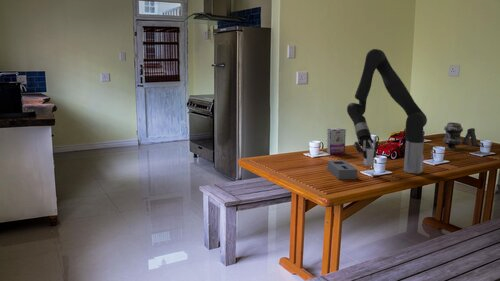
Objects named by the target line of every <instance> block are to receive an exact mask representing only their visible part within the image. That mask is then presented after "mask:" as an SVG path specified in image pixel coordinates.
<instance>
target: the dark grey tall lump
mask: <svg viewBox="0 0 500 281" xmlns="http://www.w3.org/2000/svg"><path fill="white" fill-rule="evenodd" d="M444 131H445V134H444V137H443V138H442V142H443V143H444V144H446V146H444V147H445V150H449V151H459V150H460V148H459V147H457V146H458V145H462V142H463V140H462V139H461V134H462V133H463V131H464V128H463V127H462V124H461V123H459V122H450V121H449V122H447V124H446V125H445V126H444Z"/></svg>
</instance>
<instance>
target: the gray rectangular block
mask: <svg viewBox="0 0 500 281" xmlns="http://www.w3.org/2000/svg"><path fill="white" fill-rule="evenodd" d="M373 148H374V147H373ZM373 148H371V147H369V148H365V151H366V154H367V158H366V159H365V158H364V157H363V165H365V166H374V163H375V162H374V160H375V158H374V149H373Z"/></svg>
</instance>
